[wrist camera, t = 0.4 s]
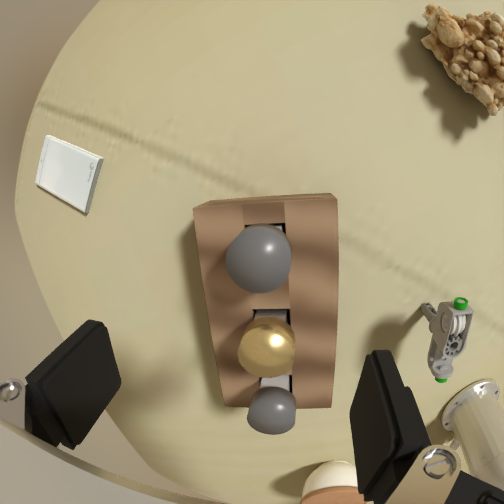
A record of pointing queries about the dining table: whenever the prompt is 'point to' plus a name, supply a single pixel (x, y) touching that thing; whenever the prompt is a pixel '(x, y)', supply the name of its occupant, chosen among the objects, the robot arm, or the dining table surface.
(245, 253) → the knob
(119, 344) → the dining table surface
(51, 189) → the hard drive
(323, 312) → the knob panel
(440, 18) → the mineral formation
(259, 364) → the knob middle
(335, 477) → the lidded bowl
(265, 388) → the knob
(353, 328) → the dining table surface
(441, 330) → the mechanical component
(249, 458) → the dining table surface
